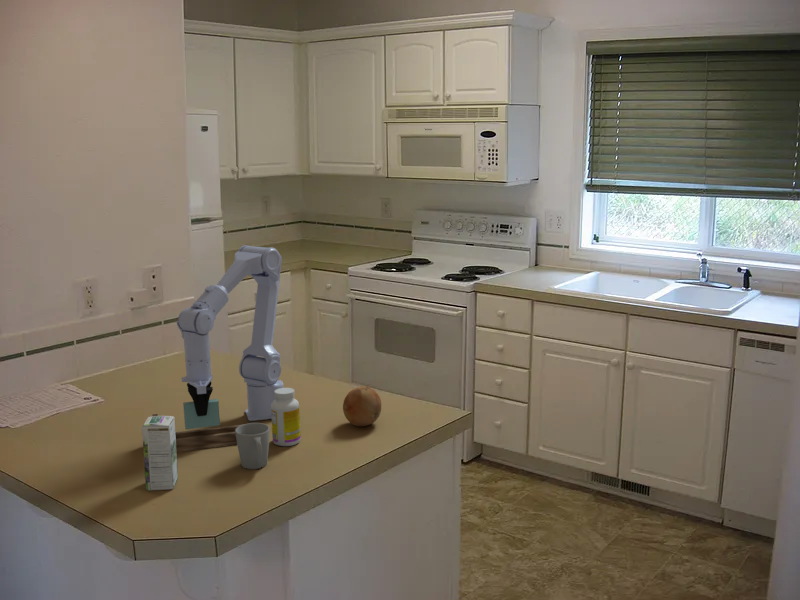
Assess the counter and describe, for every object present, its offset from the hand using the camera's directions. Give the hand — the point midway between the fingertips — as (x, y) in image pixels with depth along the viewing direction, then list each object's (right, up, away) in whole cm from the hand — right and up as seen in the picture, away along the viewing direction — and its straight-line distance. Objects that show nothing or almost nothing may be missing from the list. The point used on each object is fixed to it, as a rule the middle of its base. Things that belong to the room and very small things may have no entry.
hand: (201, 413), depth 199 cm
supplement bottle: (+20, -7, +1) cm, 21 cm away
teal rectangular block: (0, -3, +1) cm, 3 cm away
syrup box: (-3, -12, -21) cm, 24 cm away
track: (0, -7, +2) cm, 7 cm away
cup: (+15, -10, -12) cm, 22 cm away
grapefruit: (+38, -5, +12) cm, 40 cm away
